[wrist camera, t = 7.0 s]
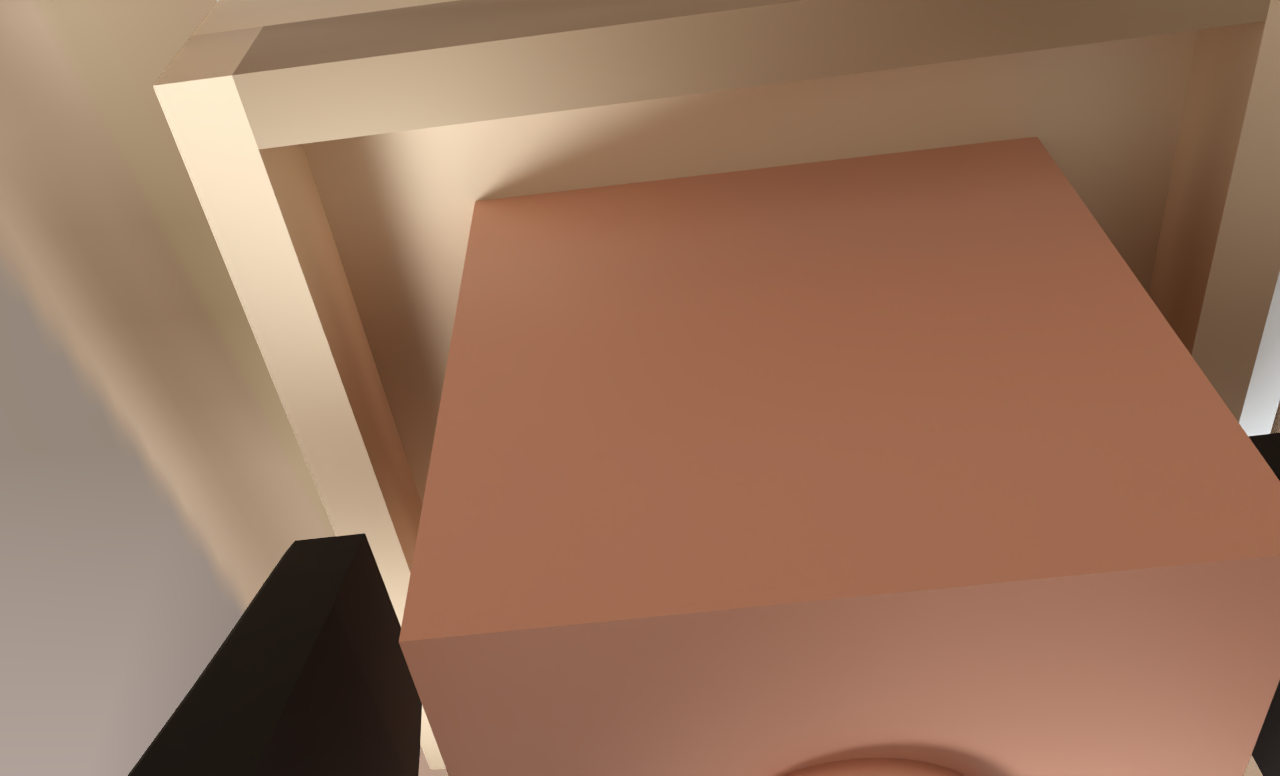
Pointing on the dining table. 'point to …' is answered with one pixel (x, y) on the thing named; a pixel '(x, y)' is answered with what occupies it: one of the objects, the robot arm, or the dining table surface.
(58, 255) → the dining table surface
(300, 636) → the robot arm
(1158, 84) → the birch tray
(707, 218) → the terracotta block
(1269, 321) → the white board
